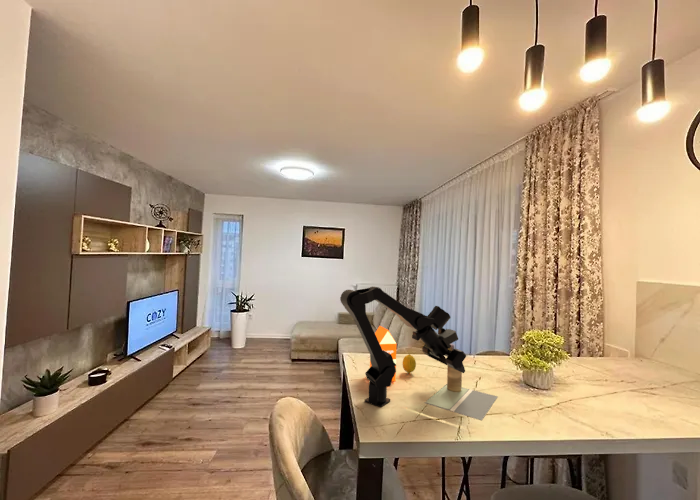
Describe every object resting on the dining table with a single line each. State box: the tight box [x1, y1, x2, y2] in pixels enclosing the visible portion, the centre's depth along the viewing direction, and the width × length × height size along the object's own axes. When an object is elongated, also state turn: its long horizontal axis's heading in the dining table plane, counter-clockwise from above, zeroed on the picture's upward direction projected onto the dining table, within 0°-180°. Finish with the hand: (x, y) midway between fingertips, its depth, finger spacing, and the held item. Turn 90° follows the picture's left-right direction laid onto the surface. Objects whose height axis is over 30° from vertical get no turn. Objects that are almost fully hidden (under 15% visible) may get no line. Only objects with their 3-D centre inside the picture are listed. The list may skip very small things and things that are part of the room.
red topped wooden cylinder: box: [446, 365, 463, 392], centre depth 117 cm, size 5×5×13 cm
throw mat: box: [424, 383, 499, 421], centre depth 108 cm, size 22×18×1 cm
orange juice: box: [369, 325, 397, 383], centre depth 128 cm, size 8×9×20 cm
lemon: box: [402, 354, 417, 374], centre depth 134 cm, size 6×6×8 cm
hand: (455, 367), depth 117 cm, fingers open, 9 cm apart
